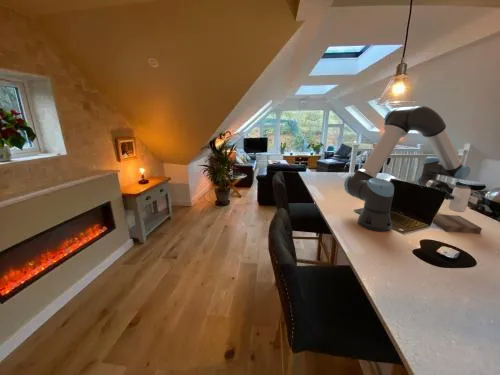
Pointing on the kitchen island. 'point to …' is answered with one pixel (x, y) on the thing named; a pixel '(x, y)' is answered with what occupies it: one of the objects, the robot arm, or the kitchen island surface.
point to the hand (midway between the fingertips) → (467, 200)
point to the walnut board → (456, 224)
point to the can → (464, 195)
